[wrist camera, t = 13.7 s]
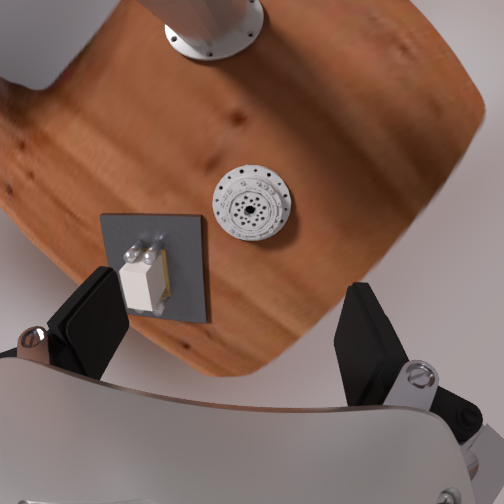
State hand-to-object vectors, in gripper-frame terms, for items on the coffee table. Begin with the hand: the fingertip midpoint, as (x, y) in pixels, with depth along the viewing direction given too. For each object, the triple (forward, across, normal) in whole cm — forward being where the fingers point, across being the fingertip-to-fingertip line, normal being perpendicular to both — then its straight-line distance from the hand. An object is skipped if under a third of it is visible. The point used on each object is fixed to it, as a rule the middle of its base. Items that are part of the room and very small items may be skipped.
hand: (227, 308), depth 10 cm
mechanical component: (+27, 0, +3) cm, 27 cm away
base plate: (+26, +15, +14) cm, 33 cm away
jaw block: (+25, +15, +14) cm, 32 cm away
